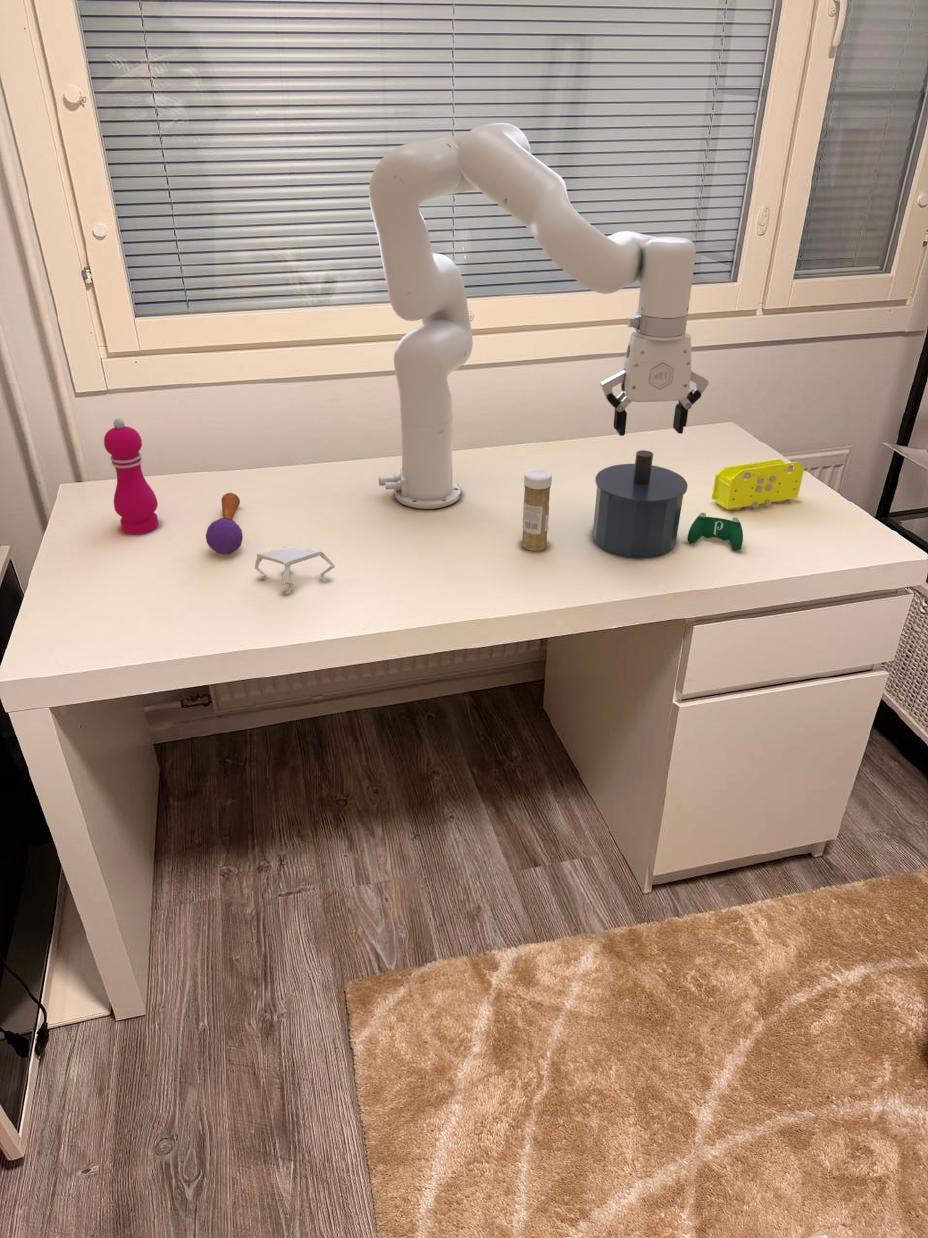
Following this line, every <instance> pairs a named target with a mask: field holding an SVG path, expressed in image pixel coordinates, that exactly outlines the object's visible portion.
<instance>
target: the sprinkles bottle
mask: <svg viewBox="0 0 928 1238" xmlns="http://www.w3.org/2000/svg"><path fill="white" fill-rule="evenodd" d="M552 481H553V474H552V473H551V472H550V471H549V470H546V469H542V468H533V469H529V470H526V471H525V472H524V475H523V484H524V495H523V496H524V497H523V507H522V508H523V512H522V526H521V527H522V537H521V538H522V539H521V546H522V548H523V549H526V550H528V551H533V552H534V551H535V552H538V551H543V550H545V549H546V548H547V546H548V530H549V517H550V513H549V512H550V495H551V493H550V492H551V486H552Z"/></svg>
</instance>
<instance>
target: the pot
mask: <svg viewBox="0 0 928 1238" xmlns="http://www.w3.org/2000/svg"><path fill="white" fill-rule="evenodd" d="M683 499H684V495H683V496H681V497H680V498H678V499H675V500H672V501H668V502H661V503H638V502H630V501H625V500H621V499H618V498H615V497H612V496H610V495H608V494H606V493H604V492H603V491H601V490H600V489H599V488H598V487H597V486H596V495H595V503H594V504H595V506H594V514H593V515H594V516H593V525H592V539H593V542H594V543H595V545H597V546H598V548H600V549H602V550H603V551H605V552H607V553H609V554H611V555H615V556H619V557H622V558H627V559H628V558H629V559H653V558H654V559H655V558H659V557H662V556H665V555H668V554H670V553H671V552H672V551H673V550H674V549H675V548H676V547H675V546H676V545H677V539H678V532H679V527H680V525H679V524H680V520H681V512H682V505H683Z"/></svg>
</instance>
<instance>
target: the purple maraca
mask: <svg viewBox="0 0 928 1238" xmlns="http://www.w3.org/2000/svg"><path fill="white" fill-rule="evenodd" d="M220 500H221V509H222V517H220V518H219V519H218V518H217V519H216V520H214V521H212V522H211V523H210V524H209V525H208V526H207V529H206V533H205V541H206V544H207V545H208V547H209V549H211V550H212V551H214V552H215V553H216V554H221V555H230V554H232V553H235V552H237V551H238V550H239V548H240V547H241V546H242V544H243V543H242V542H243V539H244V536H243V530H242V528H241V527H240V525H239V524H238V523H236V521H235V520H234V519H233V518H234V516H235V514H236V513H237V511H238V508H239V506H240V505H241V500H240V497H239V496H238V495H237V494H236V493H233V492H226V493H225V494H223V495H222V497H221V499H220Z"/></svg>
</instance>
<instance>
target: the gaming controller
mask: <svg viewBox="0 0 928 1238" xmlns="http://www.w3.org/2000/svg"><path fill="white" fill-rule="evenodd" d="M701 537H703V538H706V539H710V538H711V539H718V540H721V541H723V542H724V541H728V542H729V544H730V546H731V549H732V550H733V551H736V552H738V551H741V550H742V547H743V542H744V532H743V526H742V524H741V520H740V519H739V518H738V517H736V516H734V517H733V518H732V519H728V518H727V519H726V518H720V517H715V516H714V517H713V516H707V513H706V512H701V513H699V515H697V517H696V518H695V520H693V522H692V524H691V525H690V527H689V530H688V534H687V540H686V541H687V543H688V544H691V545H693V544H696V543H697V542H698V541H699V540H700V539H701Z"/></svg>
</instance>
